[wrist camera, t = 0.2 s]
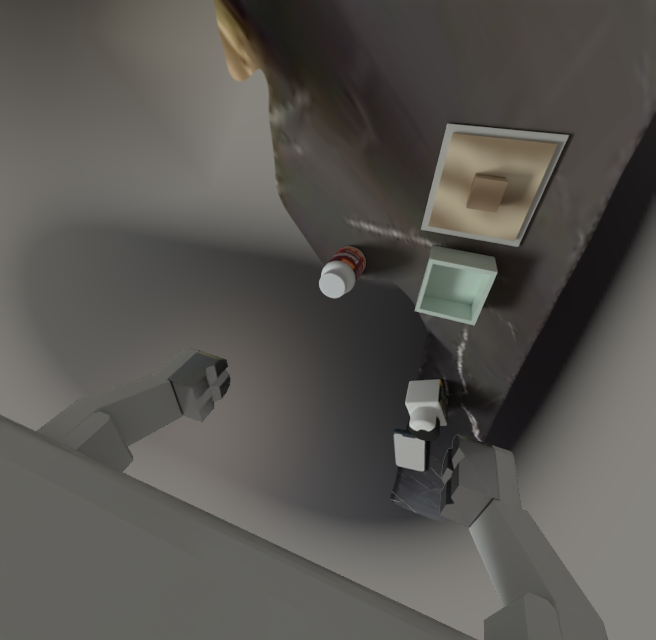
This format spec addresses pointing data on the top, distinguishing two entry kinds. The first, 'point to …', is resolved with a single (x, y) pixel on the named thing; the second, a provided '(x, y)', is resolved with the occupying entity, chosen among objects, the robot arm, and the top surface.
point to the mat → (499, 133)
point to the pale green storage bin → (456, 284)
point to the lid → (489, 184)
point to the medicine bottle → (426, 408)
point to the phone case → (409, 450)
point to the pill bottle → (342, 272)
